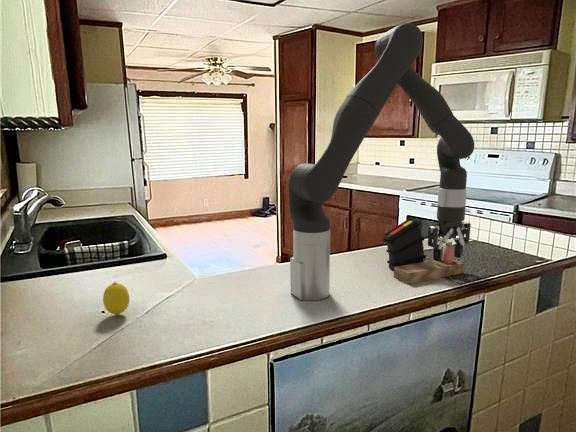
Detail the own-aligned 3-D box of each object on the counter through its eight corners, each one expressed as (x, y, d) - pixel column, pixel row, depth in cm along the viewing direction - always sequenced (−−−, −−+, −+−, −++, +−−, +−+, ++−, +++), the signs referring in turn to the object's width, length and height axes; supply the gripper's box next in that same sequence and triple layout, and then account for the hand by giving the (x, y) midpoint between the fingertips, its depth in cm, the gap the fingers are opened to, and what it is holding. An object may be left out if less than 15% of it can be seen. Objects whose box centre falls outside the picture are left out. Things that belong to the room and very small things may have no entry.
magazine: (433, 260, 130) (418, 219, 125) (400, 283, 127) (383, 241, 122) (425, 257, 134) (410, 216, 129) (392, 279, 131) (376, 238, 126)
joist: (407, 283, 115) (408, 273, 115) (393, 277, 121) (394, 267, 120) (463, 272, 124) (464, 263, 123) (448, 267, 129) (448, 257, 128)
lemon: (103, 322, 94) (99, 288, 92) (106, 312, 99) (103, 279, 98) (129, 318, 95) (126, 285, 94) (131, 309, 101) (128, 277, 99)
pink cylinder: (446, 273, 123) (448, 243, 121) (439, 270, 125) (441, 241, 124) (454, 272, 124) (456, 242, 122) (447, 269, 127) (449, 240, 125)
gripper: (459, 200, 127) (456, 252, 130) (422, 203, 121) (419, 258, 124) (480, 203, 120) (475, 259, 124) (442, 208, 114) (438, 266, 118)
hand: (447, 258), depth 124 cm, fingers open, 7 cm apart
